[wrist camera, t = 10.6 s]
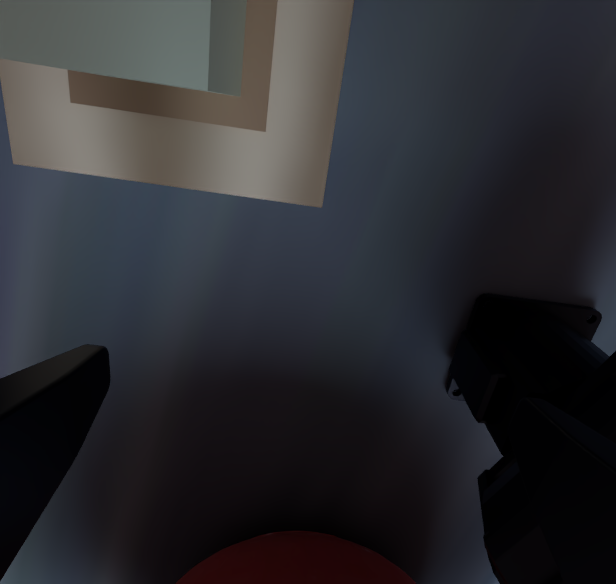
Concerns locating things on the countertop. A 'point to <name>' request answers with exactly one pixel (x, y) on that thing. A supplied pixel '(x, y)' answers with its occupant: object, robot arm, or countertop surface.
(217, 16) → the gray cube
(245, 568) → the mixing bowl
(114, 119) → the birch base
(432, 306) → the countertop surface
